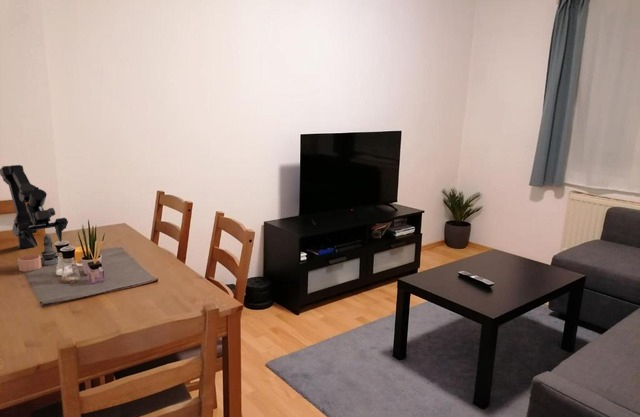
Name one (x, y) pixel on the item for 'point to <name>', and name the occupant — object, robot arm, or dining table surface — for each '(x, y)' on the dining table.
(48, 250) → the grey chess piece
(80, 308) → the dining table surface
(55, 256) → the charcoal tray
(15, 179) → the robot arm
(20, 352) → the dining table surface
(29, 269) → the pink ribbed bowl
